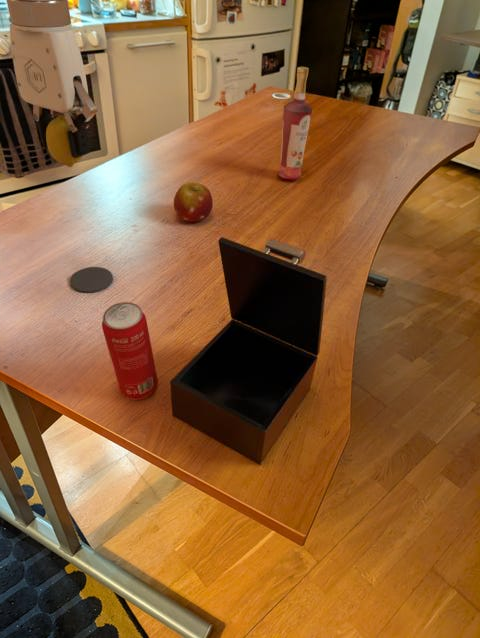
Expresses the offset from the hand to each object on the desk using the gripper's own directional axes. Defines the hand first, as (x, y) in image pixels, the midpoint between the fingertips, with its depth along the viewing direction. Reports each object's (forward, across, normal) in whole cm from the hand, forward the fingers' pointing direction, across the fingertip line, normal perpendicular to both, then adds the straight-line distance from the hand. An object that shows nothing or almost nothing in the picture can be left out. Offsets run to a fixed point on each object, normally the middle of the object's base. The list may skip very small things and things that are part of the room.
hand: (66, 149), depth 73 cm
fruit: (+26, +1, +32) cm, 41 cm away
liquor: (+26, +9, +67) cm, 72 cm away
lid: (+10, +40, -4) cm, 41 cm away
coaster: (+25, 0, 0) cm, 25 cm away
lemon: (+3, 0, 0) cm, 3 cm away
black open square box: (+26, +40, -9) cm, 48 cm away
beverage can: (+26, +25, -16) cm, 39 cm away
